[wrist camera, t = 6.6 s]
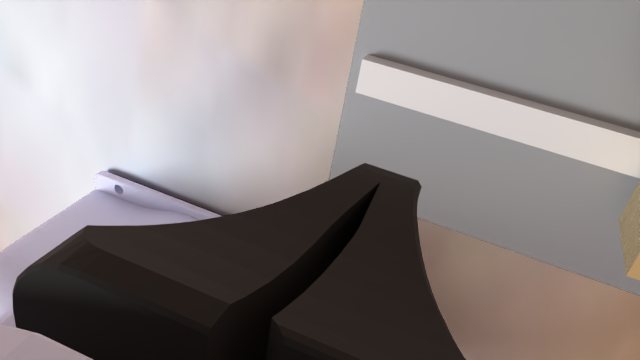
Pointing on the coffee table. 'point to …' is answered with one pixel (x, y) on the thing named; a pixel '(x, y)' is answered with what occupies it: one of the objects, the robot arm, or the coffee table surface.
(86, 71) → the coffee table surface
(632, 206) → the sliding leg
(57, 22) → the coffee table surface
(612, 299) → the coffee table surface
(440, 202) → the pitch plate
